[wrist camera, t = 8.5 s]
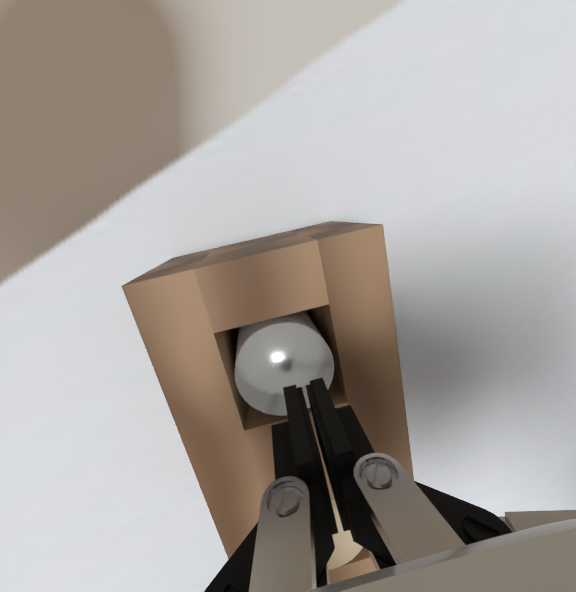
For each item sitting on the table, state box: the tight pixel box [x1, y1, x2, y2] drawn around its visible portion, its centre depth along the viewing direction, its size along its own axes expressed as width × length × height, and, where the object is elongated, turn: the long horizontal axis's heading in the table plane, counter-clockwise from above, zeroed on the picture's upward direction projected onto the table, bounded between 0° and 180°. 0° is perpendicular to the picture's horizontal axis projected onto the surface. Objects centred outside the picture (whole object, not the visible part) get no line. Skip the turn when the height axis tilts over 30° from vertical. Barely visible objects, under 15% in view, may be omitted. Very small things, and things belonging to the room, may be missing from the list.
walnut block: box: [122, 222, 414, 584], centre depth 21 cm, size 12×24×9 cm, turn 12°
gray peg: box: [235, 310, 334, 416], centre depth 19 cm, size 5×5×9 cm
